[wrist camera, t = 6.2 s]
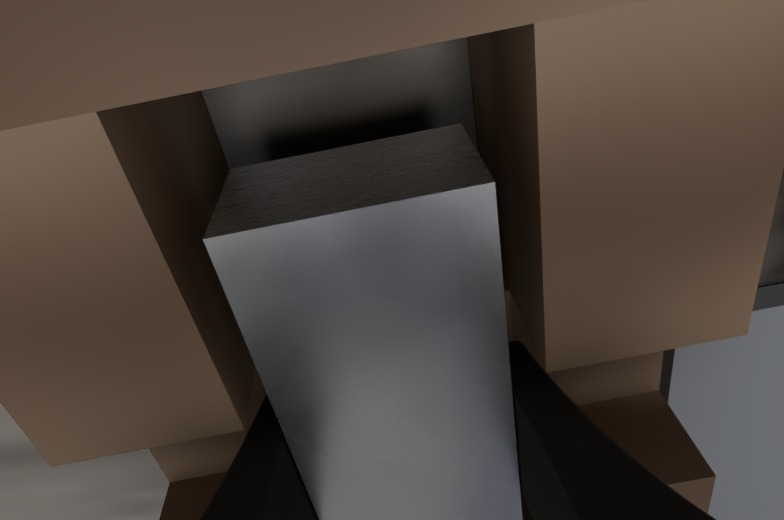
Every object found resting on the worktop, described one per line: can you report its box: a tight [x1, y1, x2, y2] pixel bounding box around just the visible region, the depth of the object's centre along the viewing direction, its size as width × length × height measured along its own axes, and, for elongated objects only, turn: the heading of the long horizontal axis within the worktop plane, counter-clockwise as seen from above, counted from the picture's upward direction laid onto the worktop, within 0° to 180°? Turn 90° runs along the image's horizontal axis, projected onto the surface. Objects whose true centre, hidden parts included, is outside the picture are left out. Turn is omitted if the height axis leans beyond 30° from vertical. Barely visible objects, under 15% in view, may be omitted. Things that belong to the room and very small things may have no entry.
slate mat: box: [659, 283, 784, 520], centre depth 17 cm, size 10×6×1 cm, turn 10°
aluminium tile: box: [203, 123, 523, 520], centre depth 11 cm, size 8×4×2 cm, turn 10°
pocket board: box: [0, 0, 784, 520], centre depth 11 cm, size 17×12×4 cm
